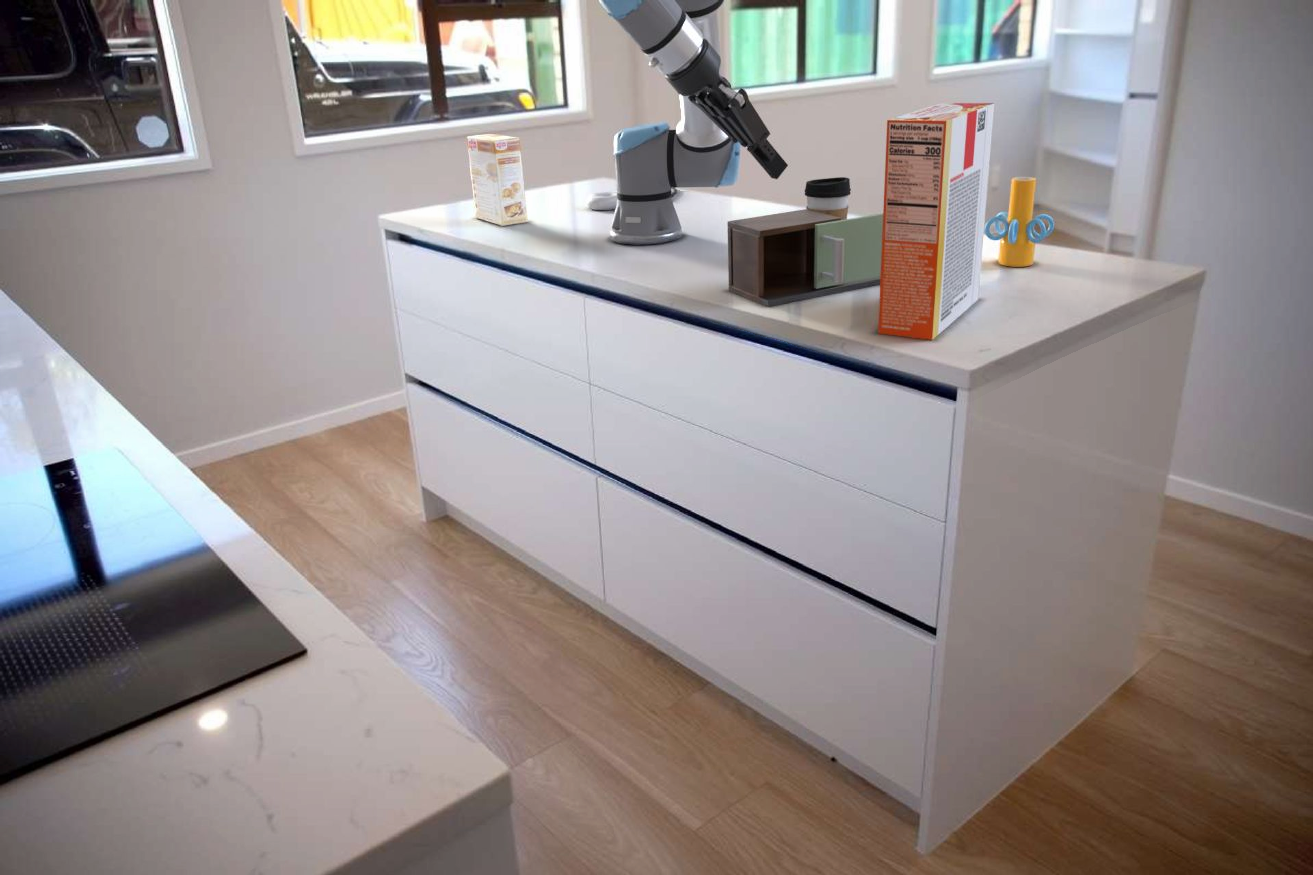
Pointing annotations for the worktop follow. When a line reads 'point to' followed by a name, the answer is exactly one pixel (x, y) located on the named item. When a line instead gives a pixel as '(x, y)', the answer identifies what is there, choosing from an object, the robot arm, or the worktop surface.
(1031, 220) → the cylinder
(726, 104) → the robot arm
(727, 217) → the worktop surface
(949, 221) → the cereal box
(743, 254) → the cabinet
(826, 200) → the coffee cup
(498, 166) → the coffeecake box
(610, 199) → the donut
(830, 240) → the door
